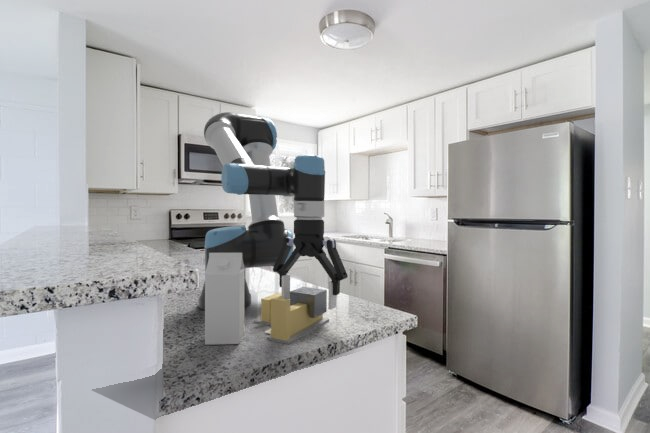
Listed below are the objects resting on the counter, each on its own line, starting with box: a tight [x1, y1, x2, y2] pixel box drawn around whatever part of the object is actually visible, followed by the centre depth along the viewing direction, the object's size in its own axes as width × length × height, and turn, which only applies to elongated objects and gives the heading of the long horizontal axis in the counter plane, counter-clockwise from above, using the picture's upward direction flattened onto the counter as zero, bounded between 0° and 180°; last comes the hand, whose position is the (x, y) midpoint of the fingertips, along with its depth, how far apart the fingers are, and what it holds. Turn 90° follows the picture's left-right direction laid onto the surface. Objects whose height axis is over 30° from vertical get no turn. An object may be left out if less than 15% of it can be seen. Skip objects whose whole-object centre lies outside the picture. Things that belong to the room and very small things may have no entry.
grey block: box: [289, 286, 328, 318], centre depth 85 cm, size 7×6×6 cm
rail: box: [266, 297, 330, 345], centre depth 82 cm, size 6×18×9 cm, turn 151°
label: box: [263, 328, 271, 335], centre depth 81 cm, size 3×6×1 cm, turn 151°
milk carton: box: [204, 253, 245, 346], centre depth 75 cm, size 7×7×19 cm
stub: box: [252, 292, 282, 327], centre depth 89 cm, size 6×9×6 cm, turn 151°
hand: (308, 304), depth 85 cm, fingers open, 13 cm apart
